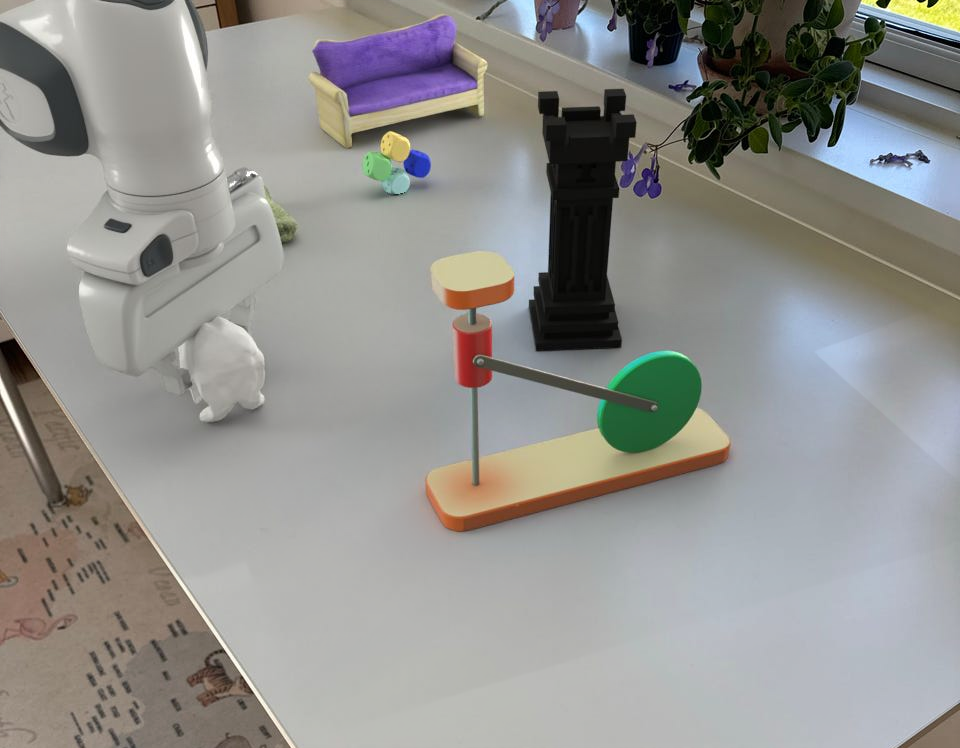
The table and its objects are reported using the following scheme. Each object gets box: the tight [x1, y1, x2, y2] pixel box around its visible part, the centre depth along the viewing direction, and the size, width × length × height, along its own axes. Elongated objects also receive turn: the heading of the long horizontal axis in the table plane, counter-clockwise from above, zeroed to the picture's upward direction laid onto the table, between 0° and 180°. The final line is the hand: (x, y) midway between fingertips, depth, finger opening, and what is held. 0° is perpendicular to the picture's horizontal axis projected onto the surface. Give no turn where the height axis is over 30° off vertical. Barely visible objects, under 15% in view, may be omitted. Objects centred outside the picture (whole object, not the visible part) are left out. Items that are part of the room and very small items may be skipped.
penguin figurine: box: [177, 316, 266, 423], centre depth 90 cm, size 6×8×12 cm
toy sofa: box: [308, 13, 488, 149], centre depth 130 cm, size 21×9×10 cm, turn 119°
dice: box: [361, 130, 432, 195], centre depth 118 cm, size 8×3×6 cm, turn 120°
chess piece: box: [528, 88, 638, 352], centre depth 92 cm, size 8×8×20 cm
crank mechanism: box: [425, 250, 731, 532], centre depth 77 cm, size 25×7×19 cm, turn 111°
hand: (210, 366), depth 90 cm, fingers closed on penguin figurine, 7 cm apart
